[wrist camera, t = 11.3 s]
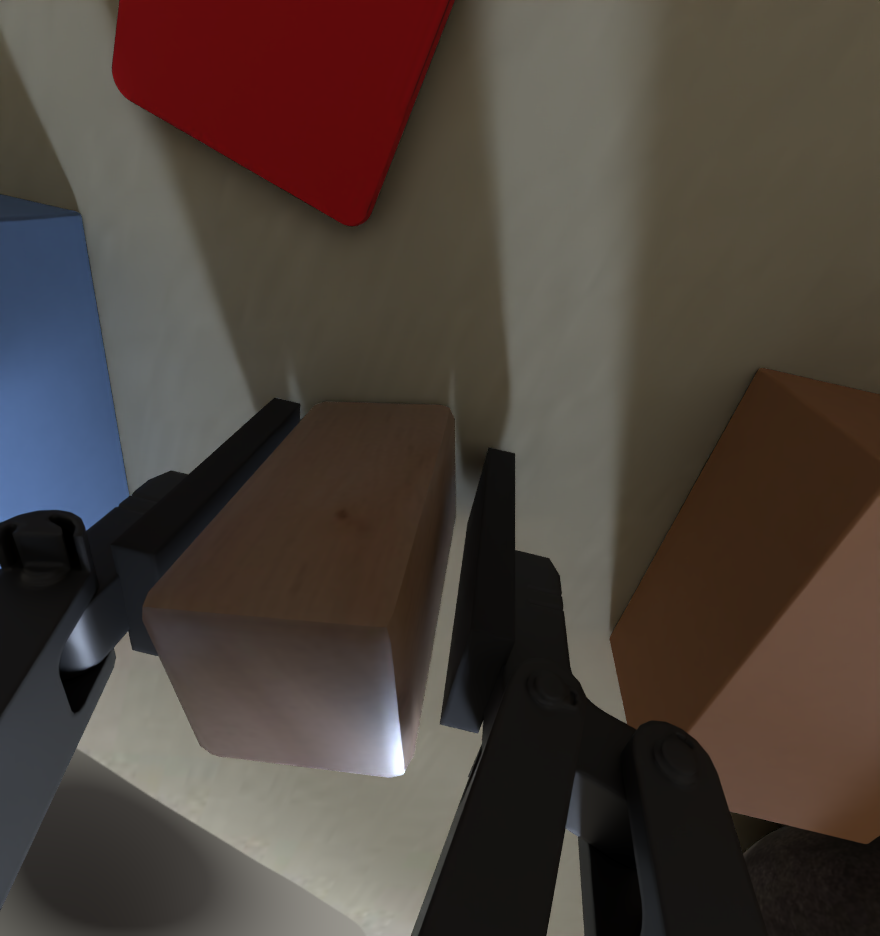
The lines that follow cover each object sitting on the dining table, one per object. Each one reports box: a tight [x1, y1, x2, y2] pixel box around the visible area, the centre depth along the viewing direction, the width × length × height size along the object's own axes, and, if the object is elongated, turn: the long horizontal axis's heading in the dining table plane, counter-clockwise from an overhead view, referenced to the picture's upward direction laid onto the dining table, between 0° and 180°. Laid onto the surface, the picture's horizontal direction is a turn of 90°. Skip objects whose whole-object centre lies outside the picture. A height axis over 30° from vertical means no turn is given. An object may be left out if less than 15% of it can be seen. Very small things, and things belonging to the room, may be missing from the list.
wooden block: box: [142, 401, 456, 778], centre depth 11 cm, size 4×4×8 cm
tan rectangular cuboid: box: [610, 368, 880, 844], centre depth 12 cm, size 6×10×5 cm, turn 169°
